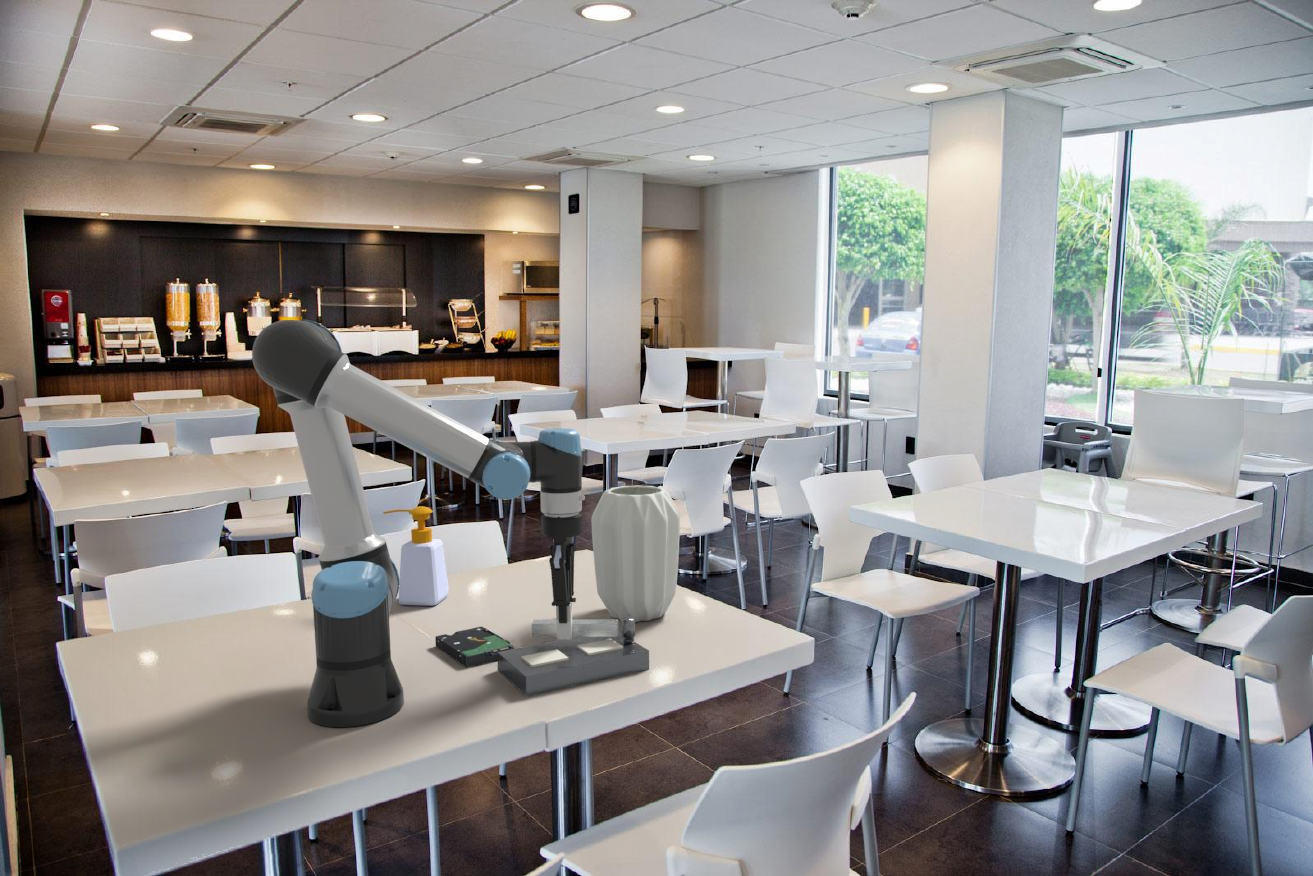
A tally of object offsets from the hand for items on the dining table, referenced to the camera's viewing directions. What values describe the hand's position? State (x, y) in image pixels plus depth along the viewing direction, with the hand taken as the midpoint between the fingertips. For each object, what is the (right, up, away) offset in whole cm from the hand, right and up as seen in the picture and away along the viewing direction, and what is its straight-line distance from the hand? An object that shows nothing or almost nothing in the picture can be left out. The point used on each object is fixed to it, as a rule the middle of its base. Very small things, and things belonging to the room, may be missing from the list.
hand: (564, 638), depth 169 cm
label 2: (+7, -2, -1) cm, 7 cm away
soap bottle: (-39, -1, +42) cm, 57 cm away
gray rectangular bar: (+3, 0, +2) cm, 4 cm away
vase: (+13, -2, +30) cm, 33 cm away
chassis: (+2, -5, -2) cm, 6 cm away
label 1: (-3, -2, -7) cm, 8 cm away
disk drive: (-18, -5, +8) cm, 21 cm away
